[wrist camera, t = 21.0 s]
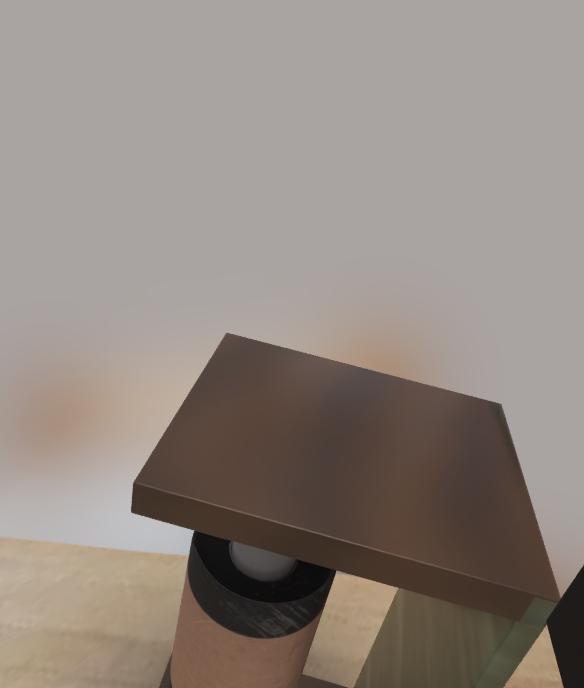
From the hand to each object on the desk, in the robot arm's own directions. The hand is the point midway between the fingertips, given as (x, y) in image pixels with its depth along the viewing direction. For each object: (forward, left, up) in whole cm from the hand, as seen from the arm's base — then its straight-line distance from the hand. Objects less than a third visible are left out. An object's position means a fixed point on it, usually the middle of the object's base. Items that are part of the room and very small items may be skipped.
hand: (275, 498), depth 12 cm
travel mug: (0, -11, -33) cm, 35 cm away
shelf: (-3, -11, -35) cm, 37 cm away
